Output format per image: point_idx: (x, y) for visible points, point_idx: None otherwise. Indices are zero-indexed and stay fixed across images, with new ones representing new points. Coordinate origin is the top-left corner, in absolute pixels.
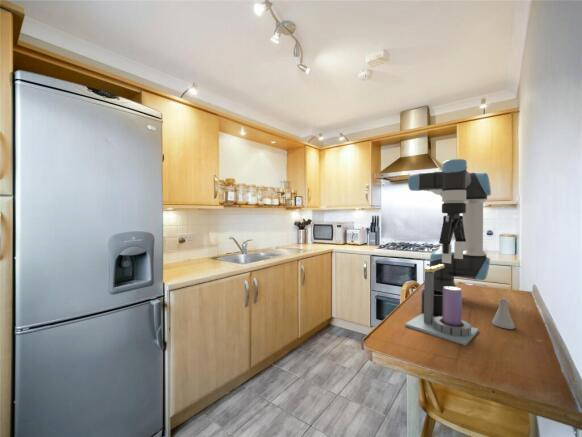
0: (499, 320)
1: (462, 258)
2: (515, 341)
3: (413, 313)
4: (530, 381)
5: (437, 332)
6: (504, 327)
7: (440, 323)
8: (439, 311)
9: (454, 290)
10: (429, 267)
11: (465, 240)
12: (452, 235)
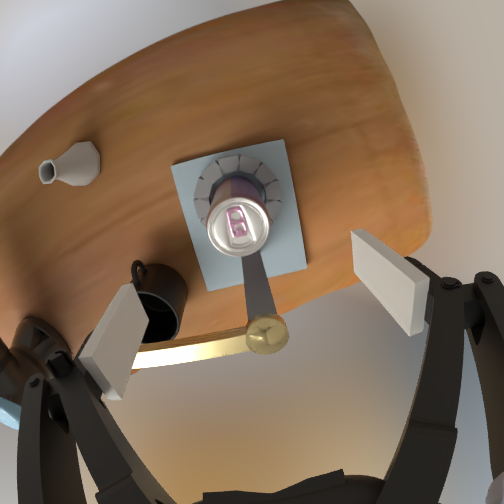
0: (89, 163)
1: (130, 284)
2: (152, 99)
3: (212, 307)
4: (318, 30)
5: (289, 201)
6: (96, 151)
7: (272, 209)
8: (167, 272)
9: (261, 206)
10: (241, 351)
11: (57, 355)
12: (429, 347)
